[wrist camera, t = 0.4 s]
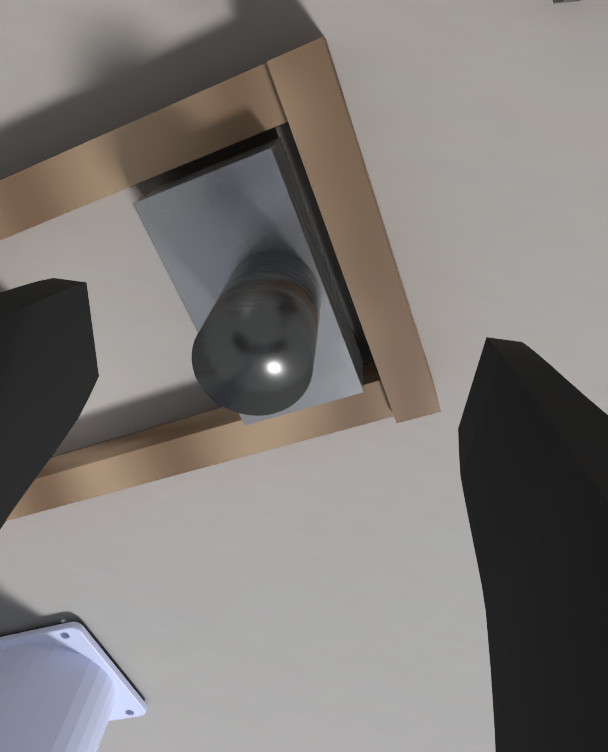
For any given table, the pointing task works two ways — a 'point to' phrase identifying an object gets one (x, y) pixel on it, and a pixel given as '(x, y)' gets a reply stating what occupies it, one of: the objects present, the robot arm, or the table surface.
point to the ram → (254, 286)
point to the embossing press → (561, 0)
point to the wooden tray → (345, 228)
